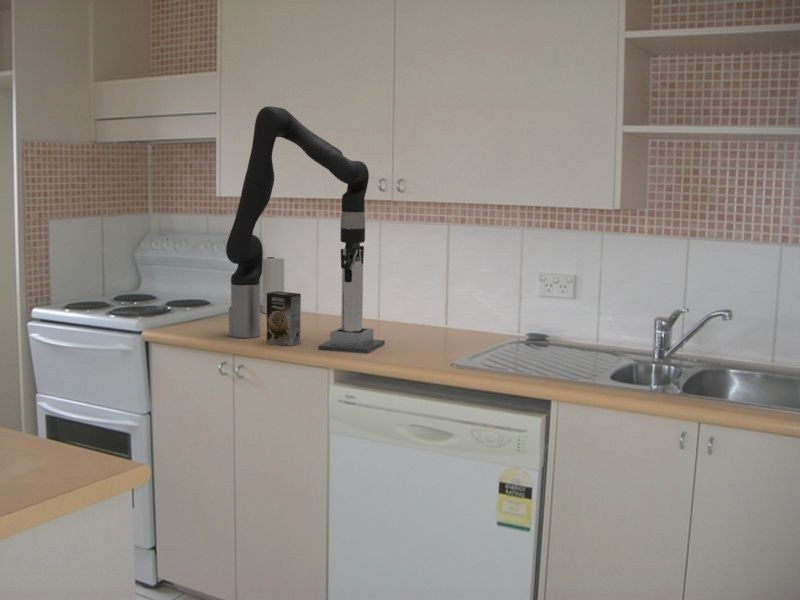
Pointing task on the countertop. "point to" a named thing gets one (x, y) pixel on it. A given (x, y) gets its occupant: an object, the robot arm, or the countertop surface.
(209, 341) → the countertop surface
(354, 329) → the silver metal cylinder
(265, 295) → the paper towel roll
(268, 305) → the coffee box
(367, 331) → the board
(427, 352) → the countertop surface
